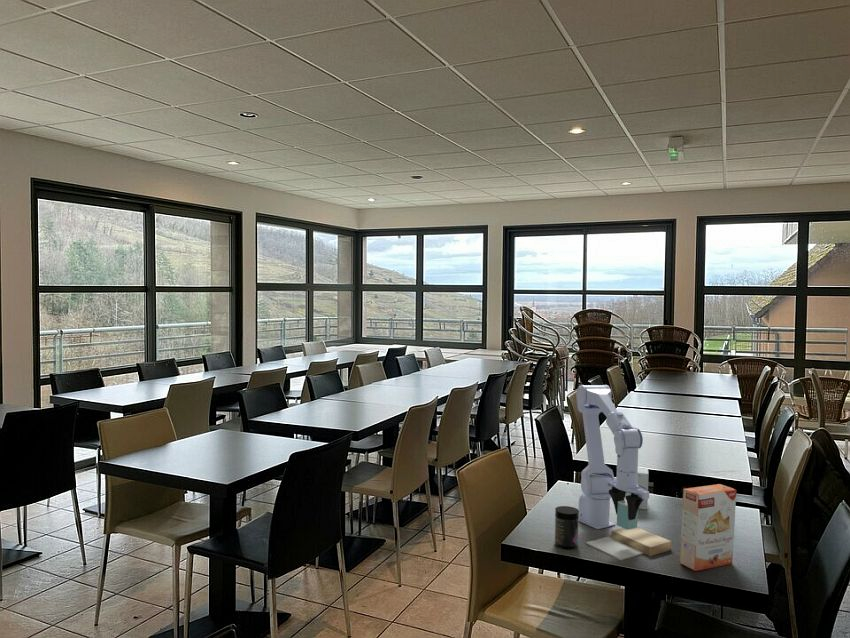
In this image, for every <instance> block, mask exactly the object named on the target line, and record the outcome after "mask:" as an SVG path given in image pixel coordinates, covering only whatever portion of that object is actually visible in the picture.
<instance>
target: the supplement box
mask: <svg viewBox="0 0 850 638" xmlns="http://www.w3.org/2000/svg"><path fill="white" fill-rule="evenodd" d="M637 484H638V486H639V487H641V488H642V489H644V490H646V491H648V492H649V469H648V468H646V467H645V468H644V467H638V472H637ZM628 495H631V494H630V493H627V492H626V495H625V499H624V500H626V496H628ZM648 500H649V499H645V500H643V501H642V503H641V504H640V506H639V508H638V510H645V511H647V510H648V504H649V503H648Z"/></svg>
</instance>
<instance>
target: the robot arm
mask: <svg viewBox="0 0 850 638" xmlns="http://www.w3.org/2000/svg"><path fill="white" fill-rule="evenodd" d="M575 396H576V405H577V406H576V407H577V411H578V412H579V413H581V414H582V421H583V429H584V436H585V437H584V438H585V445H586V452H587V454H586V455H587V460H588V461H587V462H588V464H587V466H586V467H585V468H584V469H582V471H581V472H580V476H581V479H580V489H581V491H582V493H581V494H580V496H579V499H578V510H579V523H583V524H585V525H587V526H589V527H592V528H593V529H596V530H600V529H605V528H608V527H612V526H616V523H615V522H613V521H610V513H611V512H610V509H611V508H610V506H611V505H610V504H611V503H610V502H611V500H612V503H613V505H614V510H615V515H616V516H617V508H618V501H623V500H625V495H626V492H627V493H630V494H631V495H628V496H626V500H627V505H628V518H629V520H633V519H635V518H636V514H637V511H638V512H639V509H638V508H639V506H640V504H641V503H642V501H643V500H645V499H648V500H649V499H650V491H649V490H648V491H646V490H644V489H642V488H641V487H639V486H638V484H637V472H638V468H639V467H638V465H639V464H638V463H639V449H641V448H642V446H643V444H644V443H643V440H644V438H643V434H642V431H641V430H640V429H639V427H635V426H632V424H631V423H630V421H629V420H628V418H626V416H625V415H624V413H623V412H622V411H618V410H617V408H616V406H615V404H614V403H613V400H612V389H611V387H610V386H609V385H607V384H602V385H601V384H600V385H599V384H598V385H597V384H595V385H594V384H593V385H592V384H591V385H589V384H588V385H587V384H586V385H584V384H579V386H578V387H577V389H576V393H575ZM600 413H603V414H604V416H605V417H606V420H605V424H606V425H607V426H608V428H609V430H610V431H611V433H612V435H613V442H614V446H615V454H616V478H615V476H614V472H613V471H614V470H613V469H611V467H609V466H608V465H606V464H605V456H604V450H603V443H602V435H601V427H600V419H599V416H600Z"/></svg>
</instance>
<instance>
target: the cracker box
mask: <svg viewBox="0 0 850 638" xmlns="http://www.w3.org/2000/svg"><path fill="white" fill-rule="evenodd" d="M682 492H683V493H682V509H681V511H682V513H681V526H680V527H681V528H680V529H681V531H680V551H679V564H681V565H683V566H685V567H686V568H688V569H690V570H692V571H695V572H698V571H702V570H708V569H713V568H718V567H721V566H727V565H732V564H733V558H734V557H733V555H734V554H733V553H734V541H735V540H734V539H735V538H734V537H735V522H736V521H735V520H736V506H737V505H736V503H737V489H735V488H733V487H730V486H727V485H724V484H721V483H717V484H711V485H710V484H709V485H703V486H695V487H688V488H683V491H682Z"/></svg>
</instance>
